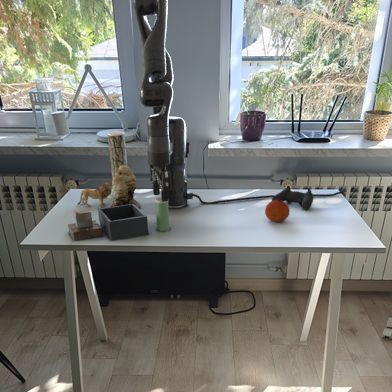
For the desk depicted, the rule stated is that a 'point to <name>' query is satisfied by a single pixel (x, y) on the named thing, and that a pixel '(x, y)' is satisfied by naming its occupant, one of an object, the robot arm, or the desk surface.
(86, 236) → the panel
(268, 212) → the fruit
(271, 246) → the desk surface
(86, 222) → the tap knob
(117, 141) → the birch log
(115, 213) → the gray open box
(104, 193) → the lion figurine
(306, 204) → the gaming controller
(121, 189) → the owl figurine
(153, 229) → the desk surface
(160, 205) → the green tube
